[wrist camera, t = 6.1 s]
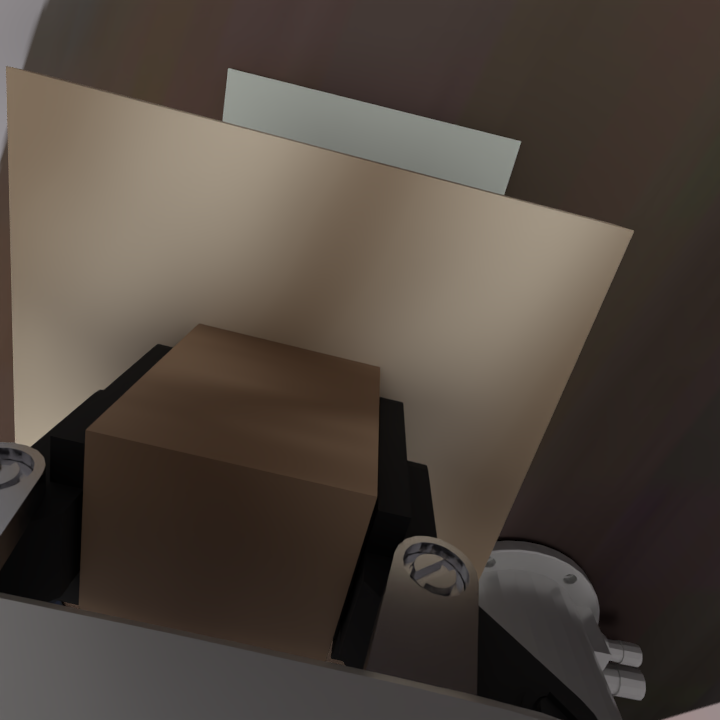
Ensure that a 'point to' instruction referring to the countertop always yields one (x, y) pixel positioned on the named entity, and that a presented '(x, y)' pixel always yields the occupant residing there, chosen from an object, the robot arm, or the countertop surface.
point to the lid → (274, 350)
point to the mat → (370, 131)
